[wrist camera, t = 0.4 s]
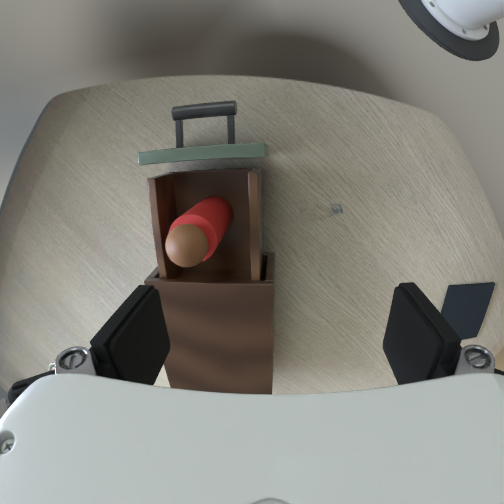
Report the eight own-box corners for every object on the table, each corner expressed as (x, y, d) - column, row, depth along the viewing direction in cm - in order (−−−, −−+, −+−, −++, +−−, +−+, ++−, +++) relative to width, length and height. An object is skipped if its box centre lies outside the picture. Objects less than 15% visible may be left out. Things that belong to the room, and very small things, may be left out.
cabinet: (170, 251, 34) (143, 280, 27) (274, 252, 33) (273, 284, 26) (187, 351, 40) (171, 390, 32) (273, 355, 39) (271, 398, 31)
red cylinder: (194, 196, 29) (150, 225, 19) (232, 195, 29) (206, 224, 18) (197, 232, 31) (158, 278, 20) (234, 232, 31) (210, 280, 20)
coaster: (448, 285, 33) (450, 287, 32) (493, 282, 32) (495, 283, 31) (430, 342, 36) (432, 344, 36) (475, 335, 35) (476, 337, 35)
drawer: (161, 114, 28) (135, 108, 22) (266, 105, 27) (264, 94, 21) (175, 272, 34) (156, 297, 28) (269, 273, 33) (267, 301, 27)
